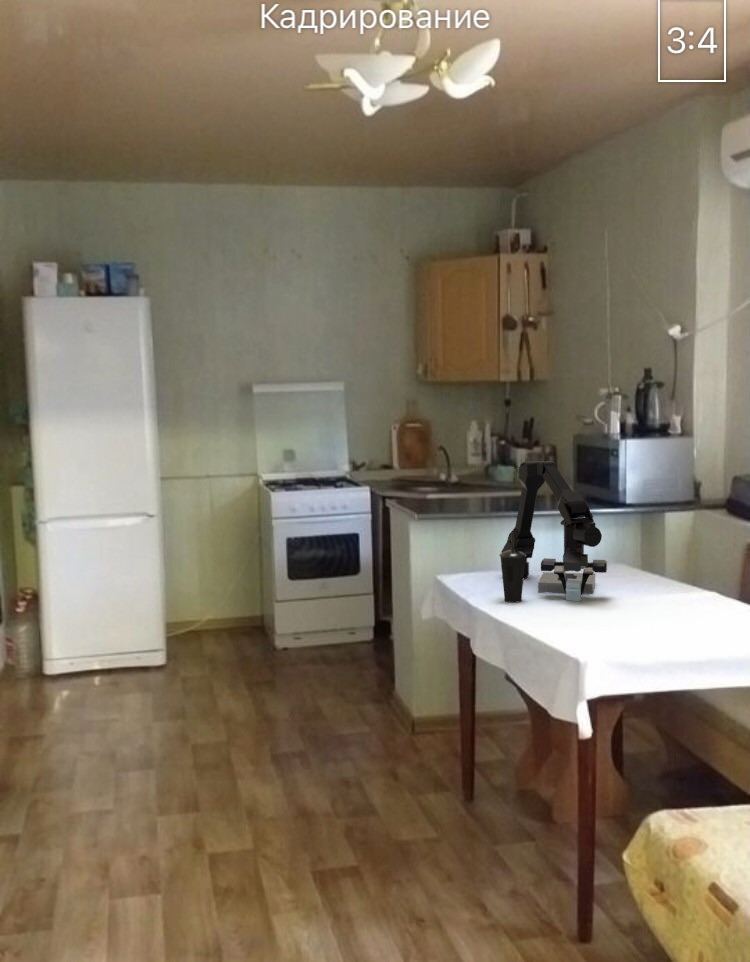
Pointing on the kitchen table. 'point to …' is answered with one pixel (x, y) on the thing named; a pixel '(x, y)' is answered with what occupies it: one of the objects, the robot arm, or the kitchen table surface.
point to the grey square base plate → (554, 584)
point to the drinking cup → (512, 573)
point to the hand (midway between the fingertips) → (573, 594)
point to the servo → (573, 589)
